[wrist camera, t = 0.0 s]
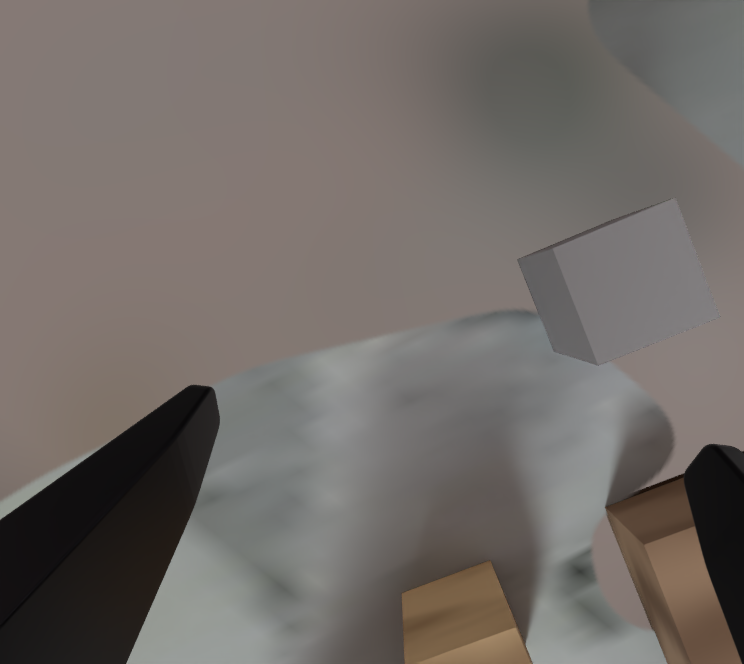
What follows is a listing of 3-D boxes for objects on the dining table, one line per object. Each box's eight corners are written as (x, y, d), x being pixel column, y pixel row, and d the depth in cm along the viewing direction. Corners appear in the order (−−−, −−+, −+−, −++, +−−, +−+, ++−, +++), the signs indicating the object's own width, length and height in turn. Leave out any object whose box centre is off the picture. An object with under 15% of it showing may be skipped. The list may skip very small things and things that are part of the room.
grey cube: (648, 313, 23) (720, 317, 18) (553, 351, 23) (598, 365, 18) (612, 219, 23) (675, 197, 18) (517, 259, 23) (552, 248, 18)
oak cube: (524, 643, 24) (559, 732, 19) (437, 675, 25) (449, 770, 20) (489, 559, 24) (515, 627, 19) (401, 592, 24) (404, 667, 19)
